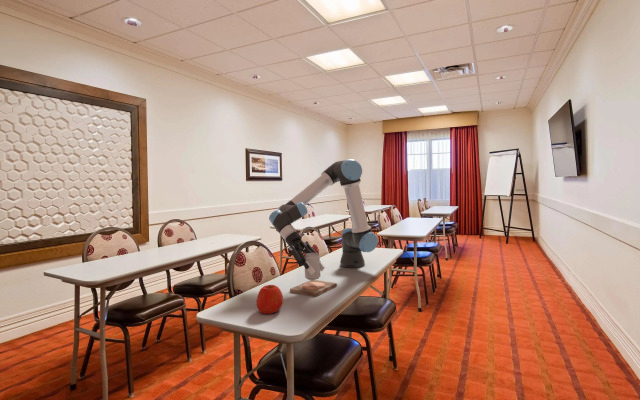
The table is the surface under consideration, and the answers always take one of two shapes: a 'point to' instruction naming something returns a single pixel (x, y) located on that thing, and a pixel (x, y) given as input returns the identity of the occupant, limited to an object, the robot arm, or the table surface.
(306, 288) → the board
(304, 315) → the table surface
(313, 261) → the can
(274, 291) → the apple
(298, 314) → the table surface
